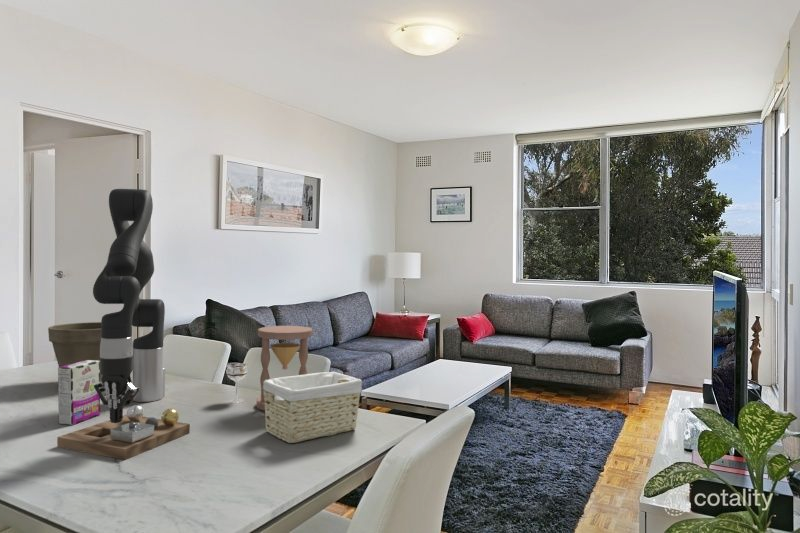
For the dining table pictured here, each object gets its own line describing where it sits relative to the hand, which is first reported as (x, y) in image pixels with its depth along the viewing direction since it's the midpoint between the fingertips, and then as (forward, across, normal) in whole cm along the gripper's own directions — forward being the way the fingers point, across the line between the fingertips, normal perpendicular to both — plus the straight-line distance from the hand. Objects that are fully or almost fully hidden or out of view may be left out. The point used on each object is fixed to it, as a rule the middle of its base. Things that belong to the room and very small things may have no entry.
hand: (116, 422), depth 145 cm
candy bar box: (+6, +26, -12) cm, 29 cm away
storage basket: (+6, -40, -30) cm, 50 cm away
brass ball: (+3, -7, -12) cm, 14 cm away
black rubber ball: (+3, -5, -7) cm, 9 cm away
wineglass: (+6, -2, -48) cm, 48 cm away
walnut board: (+6, 0, -4) cm, 7 cm away
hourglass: (+6, -19, -50) cm, 53 cm away
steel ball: (+3, +4, -11) cm, 12 cm away
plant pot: (+7, +61, -45) cm, 76 cm away
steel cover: (+3, -6, 0) cm, 6 cm away
